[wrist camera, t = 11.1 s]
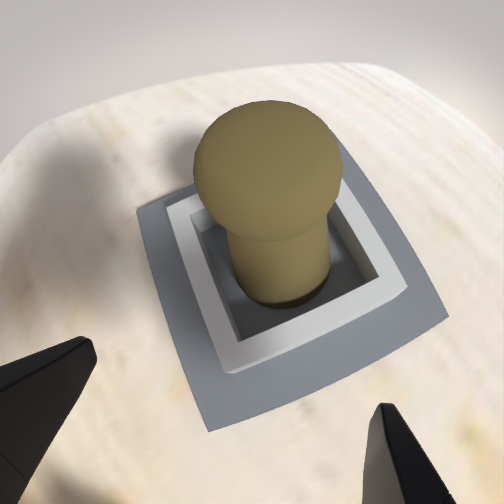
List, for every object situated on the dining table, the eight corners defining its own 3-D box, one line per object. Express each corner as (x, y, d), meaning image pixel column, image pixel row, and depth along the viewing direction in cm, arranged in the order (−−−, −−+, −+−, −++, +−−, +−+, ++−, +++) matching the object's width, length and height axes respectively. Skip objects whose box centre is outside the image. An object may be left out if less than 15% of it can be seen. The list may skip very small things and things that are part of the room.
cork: (241, 319, 18) (173, 244, 8) (226, 228, 21) (167, 100, 11) (342, 296, 18) (393, 195, 8) (316, 208, 20) (324, 67, 10)
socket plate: (212, 429, 17) (195, 439, 14) (141, 217, 23) (120, 193, 20) (442, 319, 17) (467, 307, 14) (330, 138, 24) (332, 106, 20)
